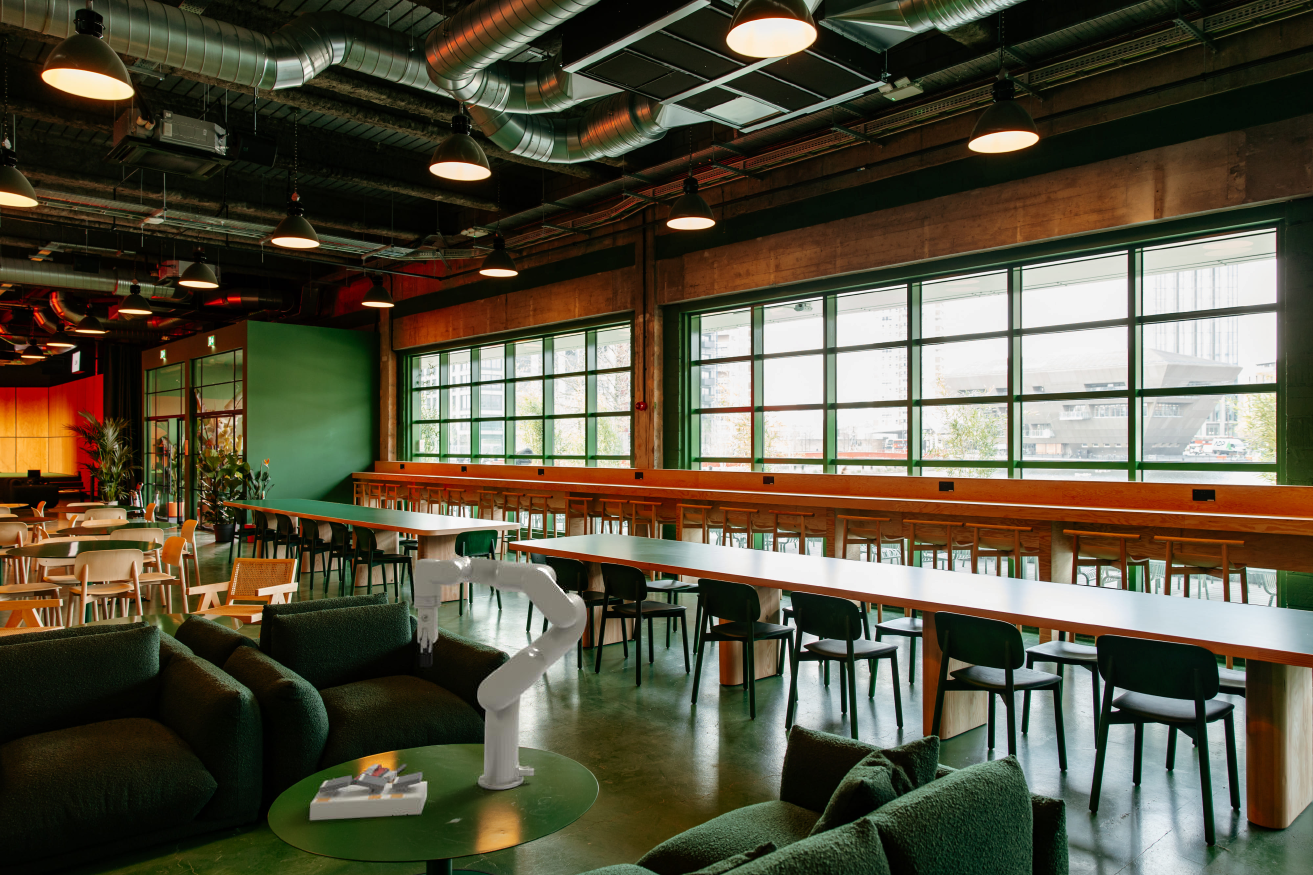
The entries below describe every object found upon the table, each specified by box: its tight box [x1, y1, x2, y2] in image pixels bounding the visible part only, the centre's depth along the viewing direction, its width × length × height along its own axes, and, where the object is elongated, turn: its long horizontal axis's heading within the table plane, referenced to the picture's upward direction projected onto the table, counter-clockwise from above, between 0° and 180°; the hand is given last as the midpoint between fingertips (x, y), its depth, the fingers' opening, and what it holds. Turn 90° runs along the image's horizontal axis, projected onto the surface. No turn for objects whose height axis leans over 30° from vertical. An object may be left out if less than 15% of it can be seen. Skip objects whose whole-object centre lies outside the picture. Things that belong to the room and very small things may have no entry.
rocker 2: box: [356, 773, 387, 791], centre depth 211 cm, size 7×5×1 cm
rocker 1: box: [318, 775, 353, 793], centre depth 209 cm, size 7×5×1 cm
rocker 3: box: [391, 771, 423, 789], centre depth 212 cm, size 7×5×1 cm
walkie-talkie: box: [350, 763, 407, 785], centre depth 230 cm, size 9×4×20 cm
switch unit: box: [309, 781, 428, 821], centre depth 210 cm, size 27×12×5 cm, turn 99°
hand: (426, 665), depth 232 cm, fingers closed
